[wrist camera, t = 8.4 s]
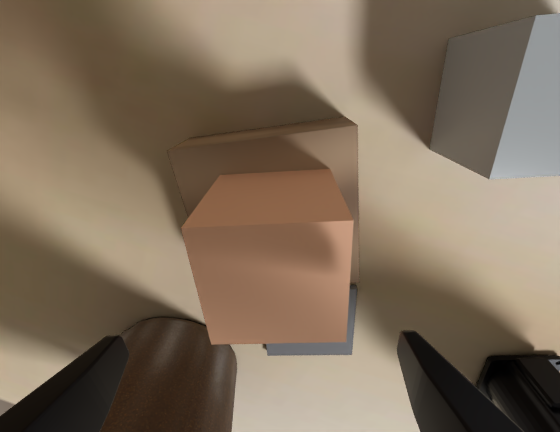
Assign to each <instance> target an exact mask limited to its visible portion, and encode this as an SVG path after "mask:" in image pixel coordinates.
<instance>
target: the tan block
mask: <svg viewBox="0 0 560 432" xmlns="http://www.w3.org/2000/svg"><path fill="white" fill-rule="evenodd" d="M167 153H168V156H169V159H170V162H171V165H172V169H173V172H174V175H175V178H176V181H177V184H178V187H179V190H180V193H181V197H182V200H183V203H184V206H185V209H186V212H187V215H188V218H189V216H190V215H191V213H192V212H193V211H194V209H195V208H196V207H197V205H198V204H199V203H200V201H201V200H202V199H203V197H204V196H205V194H206V193H207V192H208V190H209V189H210V188H211V186H212V185H213V184H214V182H215V181H216V180H217V178H218V177H219V175H226V174H244V173H263V172H281V171H299V170H318V169H330V170H331V172H332V174H333V176H334V178H335V181H336V183H337V185H338V187H339V189H340V192H341V194H342V196H343V198H344V200H345V202H346V205H347V207H348V209H349V211H350V213H351V216H352V218H353V220H354V224H353V240H352V257H351V273H350V283H356V282H359V204H358V125H357V124H355V123H354V122H352V121H351V120H349V119H348V118H346V117H338V118H331V119H324V120H317V121H310V122H302V123H295V124H288V125H281V126H274V127H266V128H259V129H252V130H245V131H238V132H230V133H223V134H216V135H209V136H202V137H194V138H189V139H187V140H185V141H184V142H182V143H180V144H178V145H177V146H175V147H173V148H171V149H169V150H168V151H167Z"/></svg>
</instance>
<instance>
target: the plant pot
mask: <svg viewBox="0 0 560 432" xmlns="http://www.w3.org/2000/svg"><path fill="white" fill-rule="evenodd" d="M121 336H122V337H123V339H124V341H125V344H126V346H127V348H128V350H129V359H128V362H127V364H126V367H125V370H124V373H123V376H122V378H121V381H120V384H119V387H118V389H117V392H116V395H115V398H114V400H113V403H112V405H111V408H110V410H109V413H108V415H107V417H106V419H105V422H104V424H103V426H102V428H101V430H100V432H231V430H232V419H233V407H234V395H235V384H236V374H237V361H236V357H235V353H234V351H233V350H232V348H231V346H230V345H229V344H214V345H211V342H210V338H209V334H208V330H207V327H205V326H203V325H200V324H198V323H195V322H192V321H188V320H184V319H177V318H152V319H147V320H143V321H140V322H138V323H137V324H136V325H134V326H133V327H132V328H130V329H128V330H127V331H124V332H123V333H122V334H121Z"/></svg>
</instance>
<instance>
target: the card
mask: <svg viewBox="0 0 560 432" xmlns="http://www.w3.org/2000/svg"><path fill="white" fill-rule="evenodd" d="M356 297H357V287H356V285H350V289H349V305H348V321H347V337H346V342H326V343H270V344H266V347H267V355H268V356H272V355H352V347H353V335H354V322H355V310H356Z"/></svg>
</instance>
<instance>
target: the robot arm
mask: <svg viewBox="0 0 560 432" xmlns="http://www.w3.org/2000/svg"><path fill="white" fill-rule="evenodd" d="M397 354H398V358H399V362H400V366H401V370H402V373H403V377H404V381H405V384H406V388H407V392H408V396H409V399H410V403H411V406H412V410H413V413H414V416H415V419H416V421H417V424H418V427H419V429H420V432H560V372H559V371H560V356H492V357H490V358H488V360H487V362H486V364H485V367H484V369H483V371H482V374H481V376H480V379H479V381H478V383H477V386H476V387H475V386H474V385H473V384H472V383H471V382H470V381H469V380H468V379H467V378H466V377H465V376H464V375H463V374H461V373H460V372H459V371H458V370H457V369H456V368H455V367H454V366H453V365H452V364H451V363H450V362H449V361H447V360H446V359H445V358H444V357H443V356H442V355H441V354H440V353H439V352H438V351H437V350H436V349H435V348H433V347H432V346H431V345H430V344H429V343H428V342H427V341H426V340H425V339H424V338H423V337H422V336H421V335H419V334H418V333H417V332H416V331H414V330H403V331H401V332H400V335H399V341H398V346H397ZM128 359H129V350H128V348H127V346H126V344H125V341H124V339H123V337H122V336H121V335H108V336H106V337H105V338H103V339H102V340H101V341H99V342H98V343H97V344H95V345H94V346H93V347H91V348H90V349H89V350H87V351H86V352H85V353H83V354H82V355H81V356H79V357H78V358H77V359H75V360H74V361H73V362H71V363H70V364H69V365H67V366H66V367H65V368H63V369H62V370H61V371H59V372H58V373H57V374H55V375H54V376H53V377H51V378H50V379H49V380H47V381H46V382H45V383H43V384H42V385H41V386H39V387H38V388H37V389H35V390H34V391H33V392H31V393H30V394H29V395H27V396H26V397H25V398H23V399H22V400H21V401H20V402H18V403H17V404H16V405H14V406H13V407H12V408H10V409H9V410H8V411H6V412H5V413H4V414H2V415H1V416H0V432H100V430H101V428H102V426H103V424H104V422H105V419H106V417H107V415H108V413H109V410H110V408H111V405H112V403H113V400H114V398H115V395H116V392H117V389H118V387H119V384H120V381H121V378H122V376H123V373H124V370H125V367H126V364H127V362H128Z"/></svg>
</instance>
